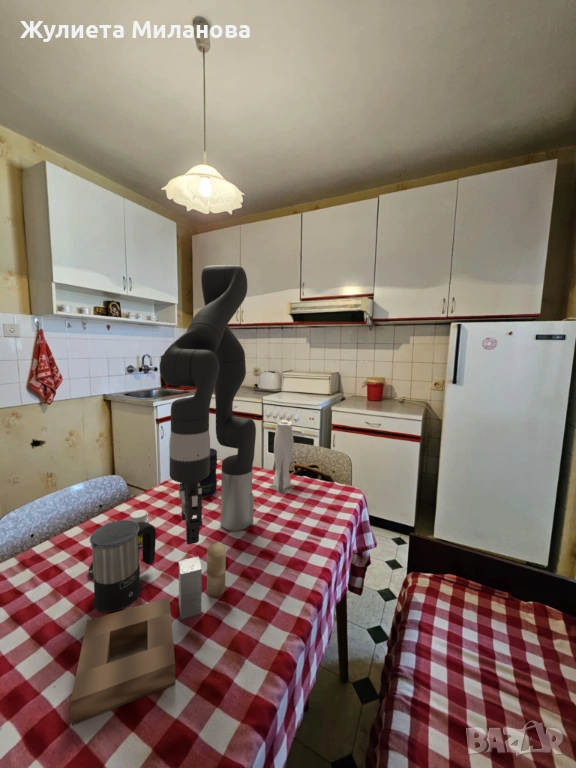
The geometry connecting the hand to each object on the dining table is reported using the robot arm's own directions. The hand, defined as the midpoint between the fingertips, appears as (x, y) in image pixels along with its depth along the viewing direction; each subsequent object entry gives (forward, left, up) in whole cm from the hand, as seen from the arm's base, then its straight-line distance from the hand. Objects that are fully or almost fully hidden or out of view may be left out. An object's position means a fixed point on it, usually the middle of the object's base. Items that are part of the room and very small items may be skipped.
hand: (189, 529), depth 62 cm
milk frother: (+15, -13, -18) cm, 27 cm away
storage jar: (-11, -51, -18) cm, 55 cm away
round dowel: (-6, -3, -18) cm, 19 cm away
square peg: (0, 0, -18) cm, 18 cm away
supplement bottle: (+10, -27, -18) cm, 34 cm away
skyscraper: (-40, -45, -18) cm, 63 cm away
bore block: (+11, +7, -18) cm, 22 cm away
